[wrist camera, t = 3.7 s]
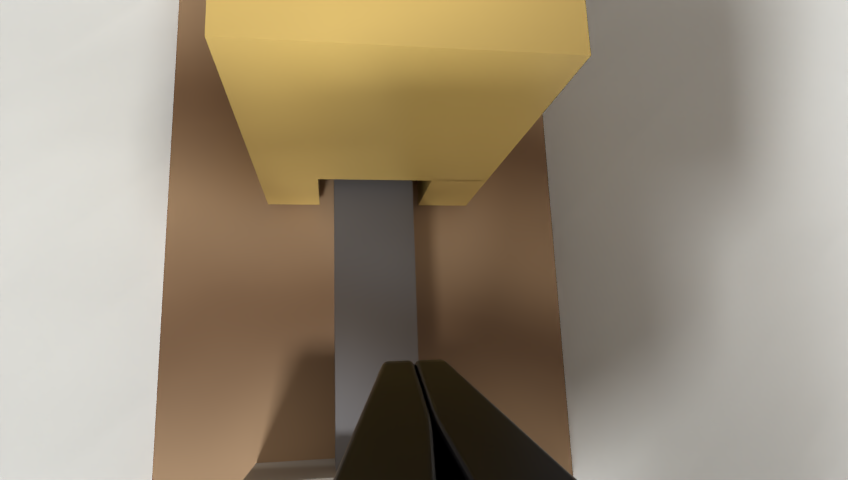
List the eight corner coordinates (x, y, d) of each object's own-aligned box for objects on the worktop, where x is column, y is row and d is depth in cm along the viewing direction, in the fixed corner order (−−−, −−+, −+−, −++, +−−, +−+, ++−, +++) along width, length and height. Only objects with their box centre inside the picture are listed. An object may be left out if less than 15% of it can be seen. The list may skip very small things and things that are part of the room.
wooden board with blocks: (561, 525, 17) (705, 623, 10) (160, 559, 15) (33, 702, 9) (508, -146, 22) (584, -366, 15) (199, -178, 20) (136, -442, 14)
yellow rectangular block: (465, 205, 17) (591, 55, 9) (267, 204, 16) (204, 36, 8) (457, 49, 18) (562, -214, 10) (271, 40, 17) (217, -258, 9)
